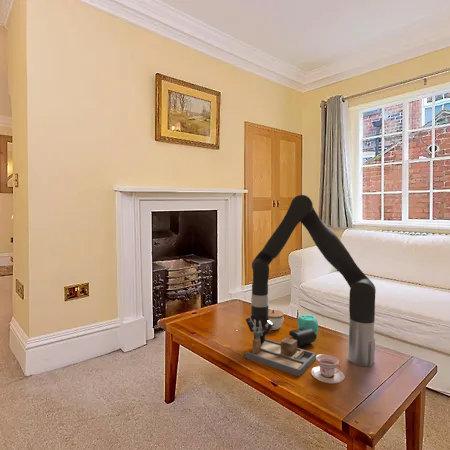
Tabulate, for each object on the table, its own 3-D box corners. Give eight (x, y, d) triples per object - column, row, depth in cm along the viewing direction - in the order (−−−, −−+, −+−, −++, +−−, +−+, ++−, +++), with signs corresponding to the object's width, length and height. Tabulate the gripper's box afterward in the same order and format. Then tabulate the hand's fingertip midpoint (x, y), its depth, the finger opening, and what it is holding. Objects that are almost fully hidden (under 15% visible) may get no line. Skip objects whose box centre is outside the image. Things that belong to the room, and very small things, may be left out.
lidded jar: (283, 332, 157) (284, 313, 157) (262, 331, 159) (262, 312, 158) (283, 324, 168) (283, 307, 167) (262, 323, 169) (263, 306, 169)
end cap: (299, 350, 138) (299, 335, 137) (288, 344, 144) (288, 329, 143) (315, 345, 143) (316, 330, 143) (304, 339, 149) (304, 325, 149)
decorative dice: (318, 336, 152) (318, 320, 152) (301, 336, 152) (301, 320, 152) (313, 330, 160) (313, 314, 160) (297, 330, 160) (297, 314, 160)
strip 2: (302, 366, 122) (302, 350, 122) (296, 371, 118) (297, 354, 118) (257, 351, 134) (257, 336, 134) (251, 356, 130) (251, 341, 130)
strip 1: (303, 354, 132) (304, 339, 131) (296, 362, 125) (296, 346, 125) (262, 342, 144) (262, 328, 143) (252, 348, 137) (252, 333, 137)
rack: (316, 359, 130) (316, 353, 130) (299, 376, 116) (299, 370, 116) (264, 343, 144) (264, 338, 144) (244, 357, 131) (244, 351, 131)
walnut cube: (296, 352, 132) (297, 340, 132) (291, 356, 128) (292, 344, 128) (285, 348, 135) (286, 337, 135) (280, 353, 131) (280, 341, 131)
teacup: (304, 374, 118) (304, 358, 118) (321, 363, 126) (321, 348, 126) (334, 388, 110) (335, 371, 109) (350, 375, 118) (351, 359, 117)
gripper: (278, 304, 138) (277, 343, 139) (250, 299, 146) (250, 335, 147) (269, 309, 132) (269, 349, 133) (241, 303, 140) (241, 341, 141)
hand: (259, 342), depth 140 cm, fingers closed on strip 1, 2 cm apart
